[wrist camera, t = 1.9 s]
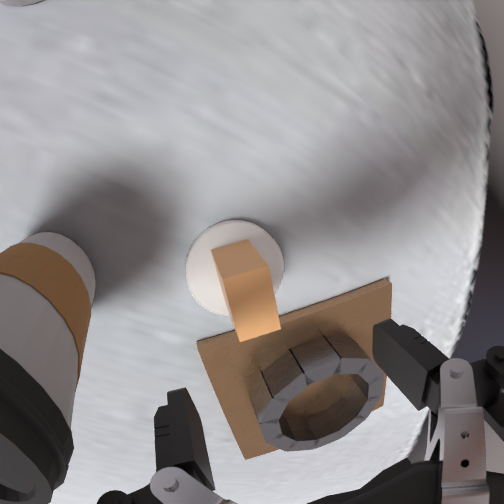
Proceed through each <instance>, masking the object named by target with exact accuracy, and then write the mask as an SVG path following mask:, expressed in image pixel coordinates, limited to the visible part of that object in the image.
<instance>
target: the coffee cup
mask: <svg viewBox="0 0 504 504" xmlns="http://www.w3.org/2000/svg"><path fill="white" fill-rule="evenodd" d="M95 287H96V280H95V274H94V270H93V267H92V265H91V263H90V260H89V258H88V257H87V255H86V254H85V253H84V251H83V250H82V249H81V248H80V247H79V246H78V245H77V244H76V243H75V242H73V241H72V240H71V239H69V238H67V237H65V236H63V235H61V234H57V233H52V232H41V233H36V234H34V235H32V236H29V237H27V238H26V239H24V240H23V241H21V242H20V243H18V244H16V245H13V246H11V247H9V248H8V249H6V250H5V251H3V252H1V253H0V504H48V503H50V502H51V498H52V494H53V490H55V489H56V488H58V487H59V486H60V485H61V484H63V483H64V480H65V477H66V474H67V470H68V464H69V462H70V459H71V456H72V453H73V450H74V445H73V439H72V432H71V420H72V412H73V404H74V397H75V392H76V388H77V384H78V380H79V377H80V370H81V364H82V358H83V353H84V347H85V342H86V337H87V332H88V327H89V322H90V318H91V307H92V303H93V299H94V295H95Z"/></svg>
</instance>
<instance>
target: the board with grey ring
mask: <svg viewBox="0 0 504 504" xmlns="http://www.w3.org/2000/svg"><path fill="white" fill-rule="evenodd" d="M391 299H392V283H391V282H389V281H388V280H386V279H382V280H380V281H377V282H375V283H372V284H369V285H367V286H364V287H361V288H359V289H356V290H353V291H351V292H348V293H345V294H342V295H340V296H337V297H334V298H331V299H329V300H326V301H323V302H320V303H317V304H314V305H311V306H309V307H306V308H303V309H300V310H297V311H294V312H291V313H288V314H285V315H282V316H279V321H280V327H281V329H280V330H277V331H274V332H271V333H268V334H265V335H261V336H258V337H255V338H252V339H249V340H246V341H242V342H240V341H239V339H238V336H237V333H236V331H235V330H234V331H231V332H228V333H224V334H221V335H218V336H214V337H211V338H207V339H204V340H200V341H197V347H198V351H199V353H200V356H201V359H202V361H203V364H204V366H205V369H206V371H207V374H208V376H209V379H210V381H211V383H212V386H213V388H214V391H215V393H216V396H217V398H218V400H219V403H220V405H221V407H222V410H223V412H224V414H225V417H226V419H227V421H228V423H229V426H230V428H231V430H232V432H233V435H234V437H235V439H236V441H237V443H238V445H239V448H240V450H241V452H242V454H243V456H244V458H245V460H246V459H250V458H253V457H256V456H260V455H263V454H266V453H269V452H272V451H275V450H278V449H282V450H284V451H300V450H311V449H316V448H318V447H321V446H323V445H326V444H328V443H331V442H333V441H335V440H338V439H340V438H342V437H344V436H345V435H346V434H348V433H349V432H350V431H352V430H353V429H354V428H355V427H357V426H358V425H359V424H360V423H362V422H363V421H364V420H365V419H366V418H367V417H368V416H369V414H370V413H371V411H373V410H375V409H377V408H379V407H381V406H383V403H384V395H385V387H386V378H387V375H386V374H385V373H384V372H383V370H382V369H381V368H380V367H379V366H378V365H377V364H376V362H375V360H374V358H373V353H372V341H373V325H374V324H377V323H379V322H381V321H384V320H386V319H388V318H390V319H391Z"/></svg>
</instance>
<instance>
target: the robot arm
mask: <svg viewBox="0 0 504 504" xmlns="http://www.w3.org/2000/svg"><path fill="white" fill-rule="evenodd" d="M39 1H42V0H0V2H1V3H3V4H6V5H10V6H24V5H29V4H34V3H37V2H39ZM372 353H373V358H374V360H375V362H376V364H377V365H378V366H379V367H380V368H381V369H382V370H383V372H384V373H385V374H386V375H387V376H388V377H389V378H390V379H391V381H392V382H393V383H394V384H395V385H396V386H397V387H398V388H399V389H400V391H401V392H402V393H403V394H404V395H405V396H406V397H407V398H408V400H409V401H410V402H411V403H412V404H413V405H414V406H415V408H416V409H417V410H418V411H419V410H421V409H423V408H424V407H426V406H428V407H429V409H430V411H429V426H428V442H427V451H426V455H425V459H424V461H418V462H412V463H411V462H410V461H409V460H408V458H405V459H403V460H402V461H400V462H398V463H396V464H394V465H392V466H391V467H389V468H387V469H385V470H383V471H382V472H381V473H379V474H378V475H377V476H376V477H375V478H373V479H372V480H371V481H370V482H368V483H367V484H366V485H364V486H363V487H362V488H360V489H358V490H354V491H350V492H345V493H340V494H335V495H329V496H326V497H323V498H321V499H318V500H315V501H313V502H310V503H307V504H504V474H502V473H496V472H489V471H486V444H485V429H484V420H485V421H486V422H487V423H488V424H489V425H490V426H491V427H492V429H493V430H494V431H495V432H496V433H497V434H498V436H499V437H500V438H501V439H502V440H503V441H504V393H503V392H502V391H503V389H504V347H503V346H494V347H492V348H490V349H489V350H488V351H487V354H486V357H485V359H482V360H479V361H476V362H473V363H468V362H467V361H465V360H462V359H456V358H455V359H449V358H448V357H447V356H445V355H444V354H443V353H442V352H441V351H440V350H438V349H437V348H436V347H435V346H434V345H433V344H431V343H430V342H429V341H427V339H425V338H424V337H423V336H421V334H419V333H418V332H417V331H416V330H415V329H414V328H411V327H408V326H406V325H401V326H399V325H398V324H397V323H396V322H394V321H393V320H392V319H390V318H388V319H386V320H384V321H381V322H379V323H377V324H374V325H373V341H372ZM167 399H168V405H165V406H161V407H158V410H157V412H156V414H155V416H154V428H155V430H154V431H155V452H156V473H155V474H154V475H153V477H152V479H151V481H150V483H149V484H148V485H147V486H145V487H144V488H142V489H139V490H137V491H135V492H132V493H130V494H128V495H127V494H126V493H124V492H122V491H117V490H114V491H109V492H107V493H105V494H103V495H102V496H101V497H100V498H99V500H98V502H97V504H237V503H235V502H233V501H231V500H225V499H223V498H222V497H220V496H219V495H217V494H216V493H214V492H213V490H215V486H214V481H213V477H212V472H211V467H210V463H209V458H208V453H207V448H206V443H205V438H204V432H203V427H202V423H201V419H200V416H199V414H198V411H197V409H196V407H195V405H194V403H193V401H192V399H191V397H190V395H189V393H188V391H187V389H186V388H181V389H177V390H173V391H169V392H167Z"/></svg>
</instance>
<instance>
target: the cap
mask: <svg viewBox="0 0 504 504" xmlns="http://www.w3.org/2000/svg"><path fill="white" fill-rule="evenodd" d="M185 271H186V279H187V284H188V287H189V290H190V292H191V294H192V296H193V297H194V299H195V300H196V301H197V302H198V303H199V304H200V305H201V306H202V307H203V308H205V309H206V310H208V311H210V312H212V313H215V314H218V315H223V316H230V317H231V320H232V323H233V325H234V328H235V331H236V333H237V336H238V339H239V341H240V342H242V341H246V340H249V339H252V338H255V337H258V336H261V335H265V334H268V333H271V332H274V331H277V330H280V329H281V327H280V321H279V316H278V311H277V306H276V301H275V295H274V294H275V293H276V291H277V289H278V288H279V286H280V283H281V281H282V277H283V272H284V261H283V256H282V253H281V250H280V248H279V246H278V244H277V243H276V242H275V240H274V239H273V238H272V237H271V236H270V235H269V234H268V233H267V232H266V231H265V230H264V229H262V228H261V227H259V226H258V225H256V224H254V223H251V222H248V221H243V220H227V221H223V222H219V223H217V224H214V225H212V226H210V227H209V228H207V229H206V230H204V231H203V232H202V233H201V234H200V235H199V236H198V237H197V238H196V239H195V240H194V242H193V243H192V245H191V247H190V249H189V251H188V254H187V257H186V263H185Z"/></svg>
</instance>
